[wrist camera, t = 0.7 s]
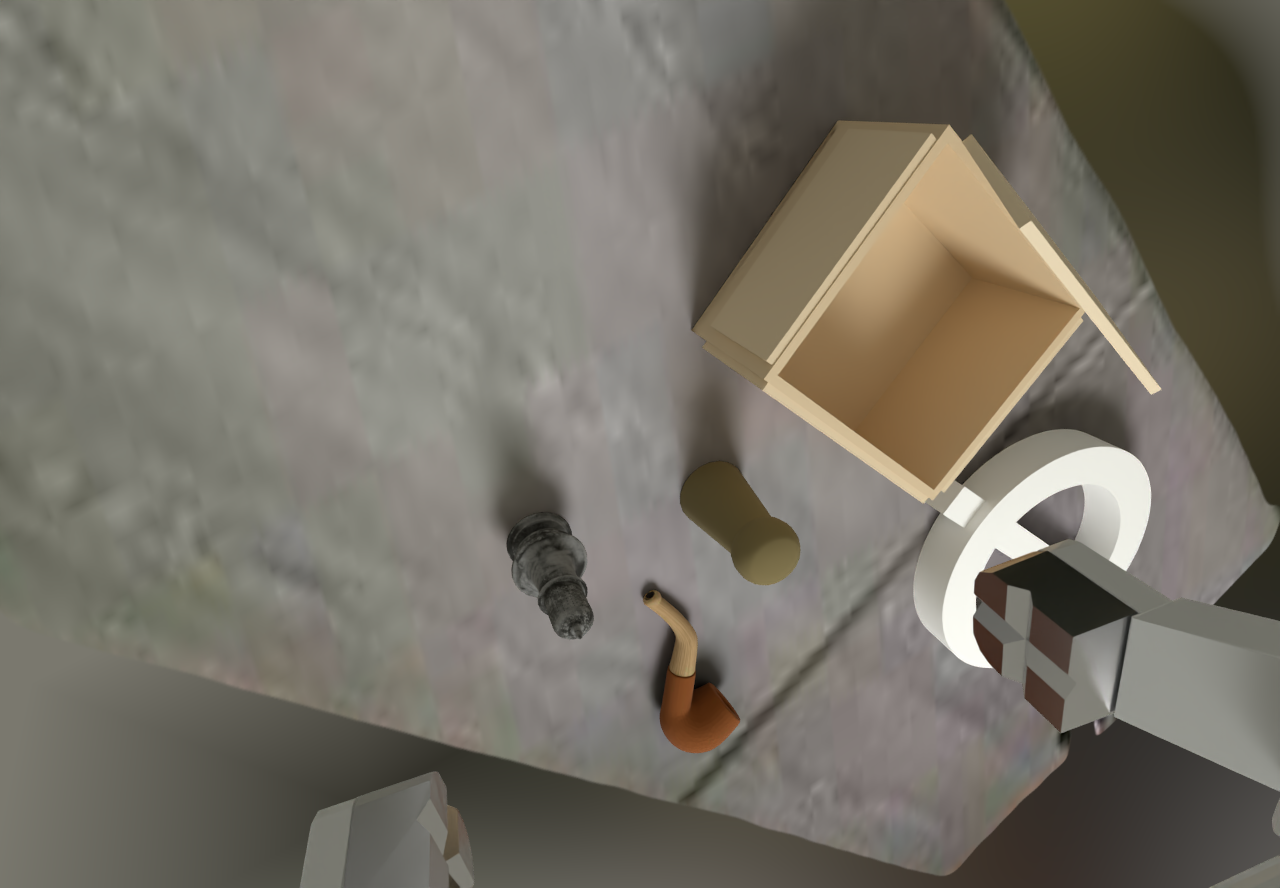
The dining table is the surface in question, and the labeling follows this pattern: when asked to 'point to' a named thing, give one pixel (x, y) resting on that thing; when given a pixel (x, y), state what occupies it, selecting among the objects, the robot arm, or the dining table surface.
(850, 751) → the dining table surface
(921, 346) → the carton
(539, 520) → the grey chess piece
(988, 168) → the carton flap
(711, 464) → the cork
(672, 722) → the smoking pipe
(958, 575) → the ring with crossbar
